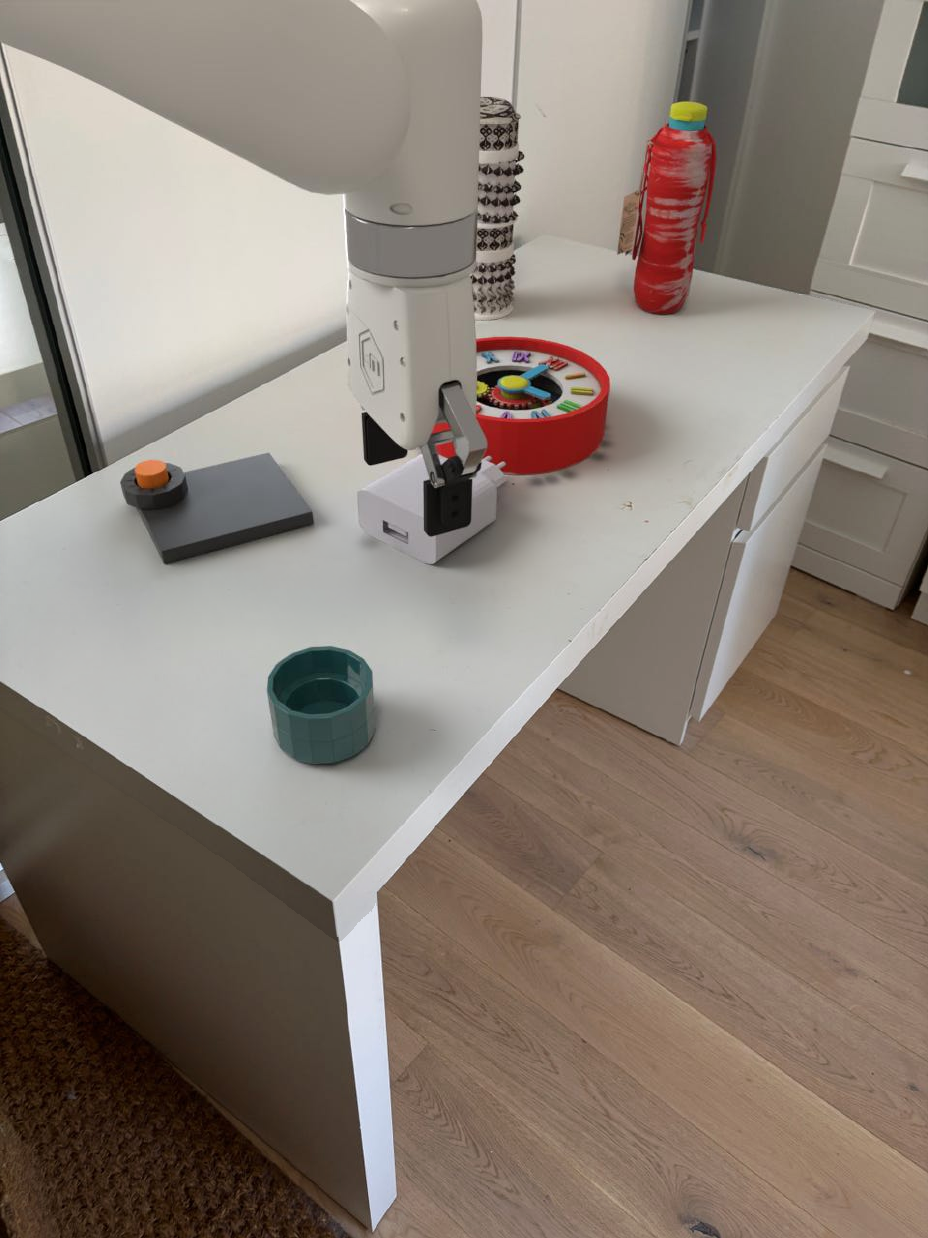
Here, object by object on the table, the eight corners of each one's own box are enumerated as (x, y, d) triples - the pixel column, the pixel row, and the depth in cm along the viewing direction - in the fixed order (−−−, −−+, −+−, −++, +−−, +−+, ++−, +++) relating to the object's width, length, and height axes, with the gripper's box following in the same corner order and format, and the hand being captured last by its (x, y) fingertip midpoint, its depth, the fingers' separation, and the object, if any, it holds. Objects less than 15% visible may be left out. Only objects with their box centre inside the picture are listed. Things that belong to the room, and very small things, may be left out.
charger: (533, 498, 94) (435, 568, 85) (460, 466, 98) (358, 530, 89) (537, 455, 91) (435, 523, 82) (460, 424, 95) (355, 486, 86)
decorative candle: (524, 318, 127) (537, 108, 111) (455, 323, 126) (458, 111, 110) (506, 292, 134) (515, 91, 118) (441, 297, 132) (441, 93, 116)
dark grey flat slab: (154, 567, 84) (148, 538, 82) (121, 498, 92) (114, 470, 91) (314, 524, 90) (311, 496, 88) (269, 462, 98) (266, 436, 96)
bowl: (296, 782, 66) (289, 732, 63) (260, 715, 71) (252, 665, 68) (391, 747, 69) (389, 696, 65) (351, 684, 73) (347, 634, 70)
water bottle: (596, 306, 131) (618, 101, 115) (617, 287, 137) (641, 89, 121) (681, 324, 127) (716, 114, 111) (699, 304, 132) (736, 101, 116)
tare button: (142, 492, 88) (138, 477, 87) (134, 478, 90) (131, 463, 89) (172, 485, 90) (169, 470, 89) (164, 471, 91) (161, 456, 90)
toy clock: (379, 379, 100) (497, 321, 112) (381, 429, 104) (495, 368, 116) (535, 443, 90) (646, 372, 102) (531, 496, 94) (639, 422, 106)
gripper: (296, 203, 60) (318, 447, 71) (417, 303, 48) (420, 576, 59) (406, 189, 62) (410, 426, 73) (546, 279, 51) (526, 545, 62)
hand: (415, 492), depth 66 cm, fingers open, 9 cm apart
